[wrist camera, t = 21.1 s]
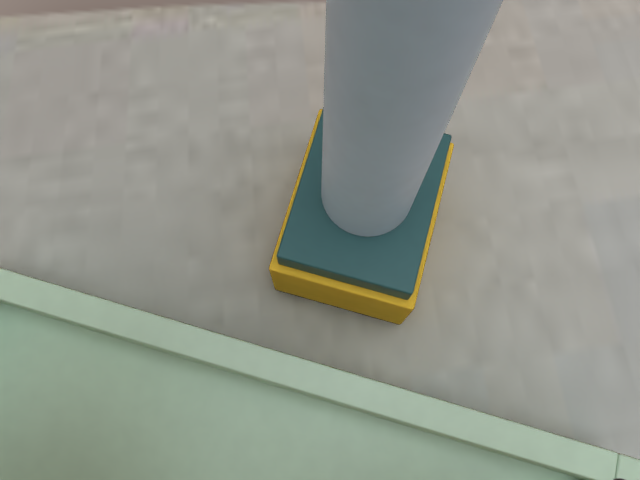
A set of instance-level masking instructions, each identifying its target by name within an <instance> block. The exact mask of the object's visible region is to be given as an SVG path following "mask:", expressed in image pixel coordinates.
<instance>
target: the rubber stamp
mask: <svg viewBox="0 0 640 480" xmlns="http://www.w3.org/2000/svg"><path fill="white" fill-rule="evenodd" d="M502 2H503V0H326V31H325V69H324V107H323V110H322V109H320V110H319V112H318V115H317V119H316V122H315V125H314V128H313V131H312V134H311V137H310V141H309V144H308V147H307V150H306V153H305V156H304V159H303V163H302V166H301V169H300V172H299V175H298V178H297V181H296V185H295V188H294V191H293V194H292V197H291V200H290V203H289V207H288V210H287V213H286V216H285V219H284V222H283V225H282V228H281V232H280V235H279V238H278V241H277V244H276V247H275V250H274V254H273V257H272V260H271V263H270V266H269V270H270V274H271V277H272V280H273V284H274V287H275V289H276V290H279V291H283V292H286V293H290V294H293V295H297V296H300V297H304V298H307V299H311V300H314V301H318V302H322V303H325V304H329V305H332V306H336V307H339V308H343V309H346V310H350V311H353V312H357V313H360V314H364V315H367V316H371V317H374V318H378V319H382V320H385V321H389V322H392V323H396V324H401V323H402V322H403V321H404V320H405V318H406V317H407V316H408V315H409V314H410V313H411V312H412V310H413V309H414V307H415V303H416V299H417V295H418V291H419V286H420V282H421V278H422V274H423V270H424V266H425V262H426V258H427V254H428V250H429V245H430V241H431V237H432V233H433V229H434V225H435V221H436V217H437V213H438V208H439V204H440V200H441V196H442V192H443V188H444V184H445V180H446V176H447V172H448V167H449V163H450V159H451V155H452V151H453V147H454V145H453V143H450V141H451V135H449V134H445V133H444V132H445V130H446V127H447V125H448V123H449V121H450V118H451V116H452V114H453V112H454V109H455V107H456V105H457V103H458V100H459V98H460V96H461V94H462V91H463V89H464V87H465V85H466V82H467V80H468V78H469V76H470V74H471V71H472V69H473V67H474V65H475V62H476V60H477V58H478V56H479V53H480V51H481V49H482V47H483V44H484V42H485V40H486V38H487V35H488V33H489V31H490V29H491V26H492V24H493V22H494V20H495V17H496V15H497V13H498V11H499V8H500V6H501V4H502Z"/></svg>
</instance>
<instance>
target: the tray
mask: <svg viewBox="0 0 640 480" xmlns="http://www.w3.org/2000/svg"><path fill="white" fill-rule="evenodd" d="M616 478H622V479H625V480H640V459H637V458H633V457H630V456H627V455H623V454H618V453H616V452H614V451H610V450H607V449H604V448H600V447H597V446H594V445H590V444H587V443H584V442H580V441H577V440H573V439H570V438H567V437H563V436H560V435H557V434H553V433H550V432H547V431H543V430H540V429H537V428H533V427H530V426H527V425H523V424H520V423H517V422H513V421H510V420H507V419H503V418H500V417H497V416H493V415H490V414H487V413H483V412H480V411H477V410H473V409H470V408H467V407H463V406H460V405H457V404H453V403H450V402H446V401H443V400H440V399H436V398H433V397H430V396H426V395H423V394H420V393H416V392H413V391H410V390H406V389H403V388H400V387H396V386H393V385H390V384H386V383H383V382H380V381H376V380H373V379H370V378H366V377H363V376H360V375H356V374H353V373H350V372H346V371H343V370H340V369H336V368H333V367H330V366H326V365H323V364H320V363H316V362H313V361H309V360H306V359H303V358H299V357H296V356H293V355H289V354H286V353H283V352H279V351H276V350H273V349H269V348H266V347H263V346H259V345H256V344H253V343H249V342H246V341H243V340H239V339H236V338H233V337H229V336H226V335H223V334H219V333H216V332H213V331H209V330H206V329H203V328H199V327H196V326H193V325H189V324H186V323H182V322H179V321H176V320H172V319H169V318H166V317H162V316H159V315H156V314H152V313H149V312H146V311H142V310H139V309H136V308H132V307H129V306H126V305H122V304H119V303H116V302H112V301H109V300H106V299H102V298H99V297H96V296H92V295H89V294H86V293H82V292H79V291H76V290H72V289H69V288H66V287H62V286H59V285H56V284H52V283H49V282H45V281H42V280H39V279H35V278H32V277H29V276H25V275H22V274H19V273H15V272H12V271H9V270H5V269H2V268H0V480H613V479H616Z"/></svg>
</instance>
